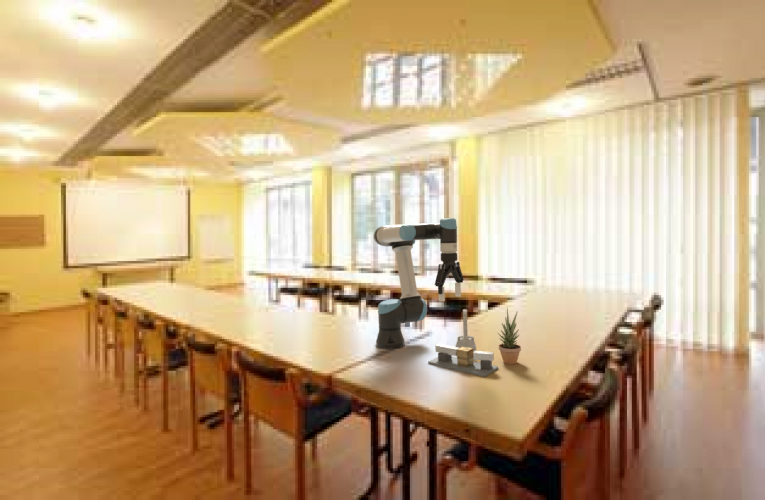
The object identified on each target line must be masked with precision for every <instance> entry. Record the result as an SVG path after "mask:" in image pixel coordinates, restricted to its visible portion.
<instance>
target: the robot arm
mask: <svg viewBox="0 0 765 500" xmlns="http://www.w3.org/2000/svg"><path fill="white" fill-rule="evenodd" d="M373 240H374V241H375V243H376V244H377V245H379V246H381V247H391V251H393V252H394V253H395V257H396V258H395V259H396V265H397V269H398V270H397V271H398V272H397V273H398V279H399V285H400V290H401V296H400V297H399V299H396V298H392V299H386V300H383V301H381V302H380V303H378V305H377V308H378V309H377V314H378V333H377V337H376V340H375V342H376V343H375V345H376V347H378V348H381V349H397V348H401V347H403V346H405V338H404V335H403V332H402V327H401V326H402V325H401V324H408V323H417V322H420V321H423V320H424V319H425V318H426V316H427V312H428V306H427V302H426V301H425V299H424V298H422V295H421V294H420V293H418V288H417V282H416V275H415V269H414V263H413V257H412V251H411V250H412V249H413V248H414V247H413V246H414V244H415V243H416V241H423V240H425V241H426V240H428V241H429V240H440V241H439V245H440V248H439V249H440V251H439V252H440V261H441V262H442V263H439V264H438V267H437V268H438V269H437V273H436V276H435V277H436V278H435V282H434V286H435V287H437V292H438V293H437V294H438V302H445V301H446V299H445V286H444V284H445V283H446V280H447V277H448V276H449V275H450V274H451V276H452V277H453V279H454V281H455V282H454V297H458V298H461V297H462V287H461V286H462V284H463V283H464V276H463V273H462V270H461V269H462V268H461V266H460V261H458V253H457V252H458V243H457V242H458V226H457V219H456V218H453V217H452V218H451V217H450V218H449V217H447V218H440V219H439V222H431V223H405V224H391V225H382V226H379V227H377V228H376V229H375V231H374V233H373ZM461 283H462V284H461Z"/></svg>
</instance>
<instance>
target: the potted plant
mask: <svg viewBox="0 0 765 500" xmlns="http://www.w3.org/2000/svg"><path fill="white" fill-rule="evenodd" d="M506 308H507V309H506V316H505V317H504V318H505V319H504V321H505V323H504V322H501V326H502V329H503V330H502V329H500V332H501V334H502V335H501V334H500V333H499V332H497V334H498V335H499V336H500V338H499V340H500V341H501V344H499V345H498V350H499V352H500V355H501V359H502V361H503V363H504V364H507V365H516V364H517V363H518V359H519V356H520V352H521V351H522V346H521V345H519V344H517V343H518V342H517V341H518V340H517V338H519V336H520V334H518V332H519V329H517V330H516V328H517V323H516V319H517V316H518V312H515V314H514V316H513V317H514V318H513V320H512V322H511V323H510V316H509V308H508V307H506ZM503 323H504V324H503ZM515 330H516V331H515Z"/></svg>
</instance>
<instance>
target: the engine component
mask: <svg viewBox="0 0 765 500" xmlns="http://www.w3.org/2000/svg"><path fill="white" fill-rule="evenodd" d="M462 325H463V326H462V327H463V331H462V332H463V335H459V336H458V337H457V341H456V342H455V343H456V344H455V347H458V348H461V347H468V348H473V353H474V351H477V344H476V342H475V337H474V336H471V335H468V309H462Z"/></svg>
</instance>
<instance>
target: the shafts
mask: <svg viewBox="0 0 765 500" xmlns="http://www.w3.org/2000/svg"><path fill="white" fill-rule="evenodd" d="M457 349H459V348H458V347H456V346H452V345H447V344H443V343H438V344H435V353H444V354H449V355H452V357H457ZM494 355H495V353H494V352H493V351H483V350H482V351H481V350H476V351H474V353H473V356H474V358H473V361H481V360H483V361H492V362H494V359H495V358H494V357H495V356H494Z"/></svg>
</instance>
